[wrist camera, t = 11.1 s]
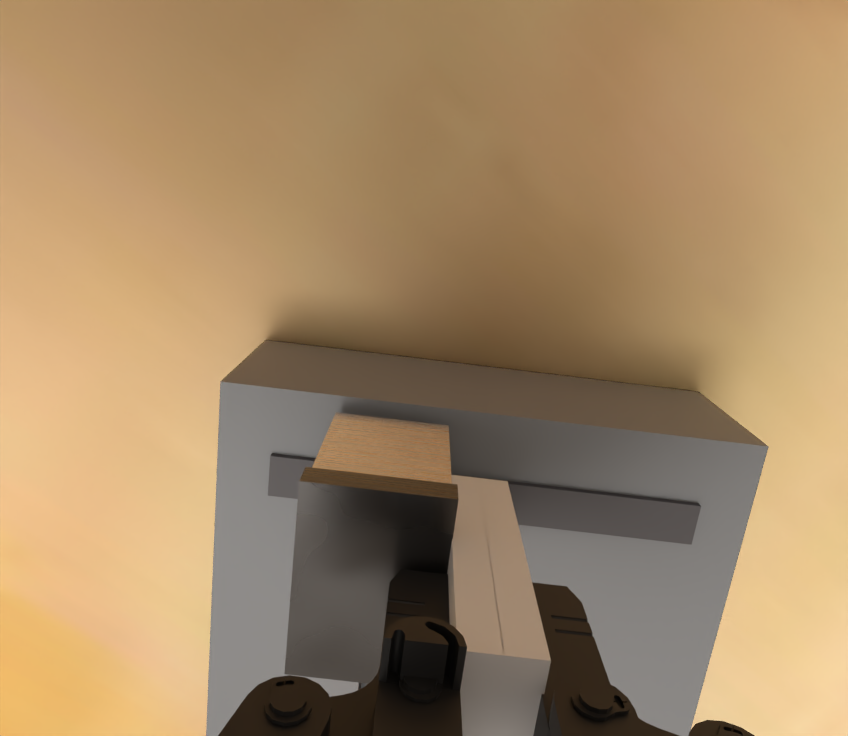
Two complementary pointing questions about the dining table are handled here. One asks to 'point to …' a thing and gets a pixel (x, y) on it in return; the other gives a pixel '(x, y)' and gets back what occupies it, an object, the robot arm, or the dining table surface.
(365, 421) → the fader
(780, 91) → the dining table surface
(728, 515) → the console
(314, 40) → the dining table surface
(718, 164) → the dining table surface
